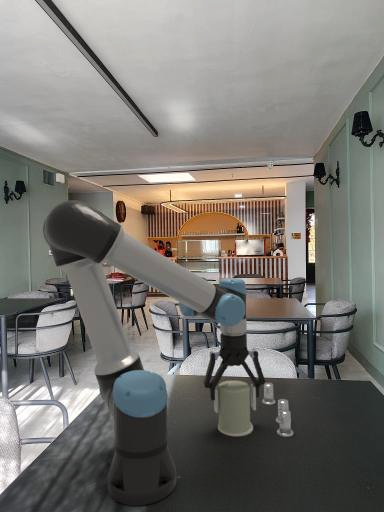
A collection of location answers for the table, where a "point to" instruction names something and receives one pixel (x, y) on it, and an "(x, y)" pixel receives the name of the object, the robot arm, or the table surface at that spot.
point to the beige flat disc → (237, 433)
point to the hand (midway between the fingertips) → (234, 409)
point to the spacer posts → (279, 411)
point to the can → (234, 406)
